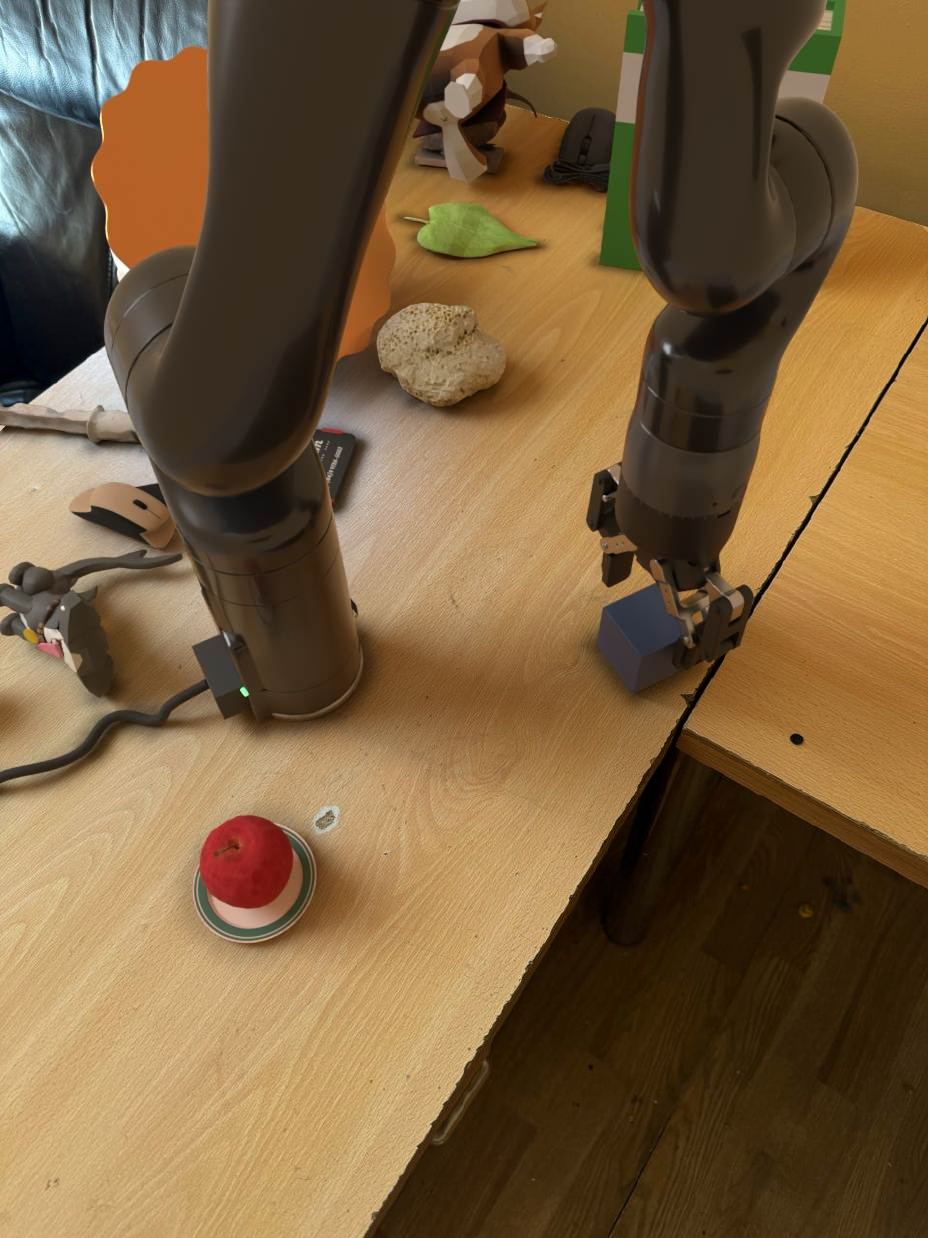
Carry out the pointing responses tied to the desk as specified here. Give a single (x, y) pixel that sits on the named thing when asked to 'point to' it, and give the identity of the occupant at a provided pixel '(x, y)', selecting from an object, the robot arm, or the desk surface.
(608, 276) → the desk surface
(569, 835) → the desk surface
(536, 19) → the toy
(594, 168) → the computer mouse
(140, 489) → the computer mouse
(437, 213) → the leaf
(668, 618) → the cube
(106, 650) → the toy monster
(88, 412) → the carved wooden stick
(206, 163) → the orange scalloped disc
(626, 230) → the hardback book
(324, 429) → the black flat block
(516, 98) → the figurine
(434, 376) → the decorative item
